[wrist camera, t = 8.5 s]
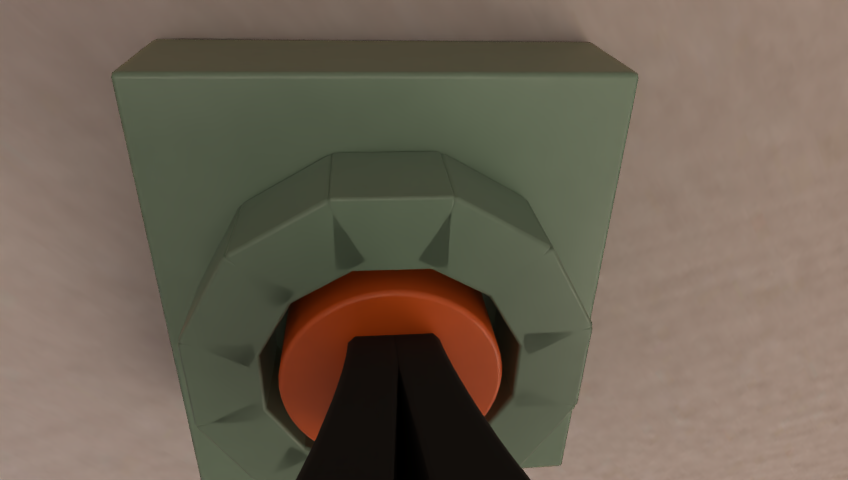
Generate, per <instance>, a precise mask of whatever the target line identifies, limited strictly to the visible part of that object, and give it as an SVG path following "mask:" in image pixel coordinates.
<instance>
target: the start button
mask: <svg viewBox="0 0 848 480" xmlns="http://www.w3.org/2000/svg"><path fill="white" fill-rule="evenodd" d="M426 333H433V334H435V335H436V336H437V337H438V338H439V339H440V341H441V343H442V346H443V348H444V350H445V352H446V354H447V356H448V358H449V360H450V361H451V363H452V365H453V367H454V369H455V371H456V372H457V374H458V376H459V378H460V379H461V381H462V383H463V384H464V386H465V388H466V389H467V391H468V393H469V394H470V396H471V397H472V399H473V400H474V402H475V404H476V405H477V407H478V408H479V410H480V411H481V413H482V414H483V415H484V416H485V415H486V414H487V412H488V411H489V410H490V408H491V406H492V404H493V402H494V401H495V398H496V396H497V393H498V390H499V387H500V382H501V377H502V360H501V353H500V350H499V347H498V344H497V341H496V338H495V334H494V331H493V328H492V325H491V322H490V319H489V315H488V312H487V309H486V306H485V303H484V300H483V296H482V293H481V292H480V291H478V290H475V289H473V288H471V287H469V286H467V285H465V284H463V283H461V282H458V281H456V280H454V279H452V278H450V277H448V276H446V275H444V274H441V273H439V272H437V271H435V270H433V269H407V270H374V271H352V272H350V273H348V274H346V275H344V276H342V277H340V278H338V279H336V280H335V281H333V282H331V283H329V284H327V285H325V286H323V287H321V288H319V289H317V290H315V291H314V292H312V293H310V294H308V295H306V296H304V297H302V298H300V299H298V300H296V301H294V302H293V303H291V304H290V306H289V308H288V314H287V321H286V328H285V334H284V341H283V347H282V354H281V361H280V367H279V374H278V381H279V391H280V395H281V399H282V402H283V404H284V407H285V409H286V411H287V413H288V414H289V416H290V418H291V419H292V421H293V422H294V423H295V424H296V426H297V427H298V428H299V429H300V430H301V431H302V432H303V433H304V434H305V435H307V436H308V437H309V438H310V439H312V440H313V441H315V440H316V437H317V435H318V433H319V430H320V428H321V425H322V423H323V421H324V418H325V416H326V414H327V411H328V409H329V406H330V404H331V402H332V399H333V396H334V393H335V390H336V388H337V385H338V382H339V379H340V376H341V373H342V369H343V366H344V361H345V357H346V353H347V346H348V342H349V341H350V340H351V339H353V338H354V337H355V336H378V335H402V334H426Z"/></svg>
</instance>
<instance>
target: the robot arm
mask: <svg viewBox="0 0 848 480" xmlns="http://www.w3.org/2000/svg"><path fill="white" fill-rule="evenodd" d="M296 480H530V478H529V477H528V476H527V475H526V473H525V472H524V471H523V469H522V468H521V467H520V466H519V464H518V463H517V462H516V460H515V459H514V458H513V457H512V455H511V454H510V453H509V451H508V450H507V448H506V447H505V446H504V444H503V443H502V442H501V440H500V439H499V437H498V436H497V435H496V433H495V432H494V430H493V429H492V427H491V426H490V424H489V423H488V421H487V420H486V418H485V417H484V415H483V414H482V413H481V411H480V410H479V408H478V407H477V405H476V404H475V402H474V400H473V399H472V397H471V396H470V394H469V393H468V391H467V389H466V388H465V386H464V384H463V383H462V381H461V379H460V378H459V376H458V374H457V372H456V371H455V369H454V367H453V365H452V363H451V361H450V360H449V358H448V356H447V354H446V352H445V350H444V348H443V346H442V343H441V341H440V339H439V338H438V337H437V336H436V335H435V334H433V333H426V334H402V335H378V336H355V337H354V338H353V339H351V340H350V341H349V342H348V346H347V353H346V357H345V361H344V366H343V369H342V373H341V376H340V379H339V382H338V385H337V388H336V390H335V393H334V396H333V399H332V402H331V404H330V406H329V409H328V411H327V414H326V416H325V418H324V421H323V423H322V425H321V428H320V430H319V433H318V435H317V437H316V440H315V442H314V444H313V446H312V448H311V450H310V452H309V454H308V456H307V458H306V460H305V462H304V464H303V466H302V468H301V470H300V472H299V474H298V476H297V478H296Z"/></svg>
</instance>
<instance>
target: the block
mask: <svg viewBox="0 0 848 480" xmlns="http://www.w3.org/2000/svg"><path fill="white" fill-rule="evenodd" d="M111 78H112V82H113V87H114V91H115V96H116V100H117V105H118V109H119V114H120V118H121V123H122V127H123V132H124V136H125V141H126V145H127V150H128V154H129V158H130V163H131V167H132V172H133V176H134V181H135V185H136V190H137V194H138V199H139V203H140V208H141V212H142V217H143V221H144V226H145V230H146V235H147V239H148V244H149V248H150V253H151V257H152V262H153V266H154V271H155V275H156V280H157V284H158V289H159V293H160V298H161V302H162V307H163V311H164V316H165V320H166V325H167V329H168V334H169V338H170V342H171V347H172V351H173V356H174V360H175V365H176V369H177V374H178V378H179V383H180V387H181V392H182V396H183V401H184V405H185V410H186V414H187V419H188V423H189V428H190V432H191V437H192V441H193V446H194V450H195V455H196V459H197V464H198V468H199V473H200V477H201V480H296V478H297V476H298V474H299V472H300V470H301V468H302V466H303V464H304V462H305V460H306V458H307V456H308V454H309V452H310V450H311V448H312V446H313V444H314V442H315V441H313V440H312V439H310V438H309V437H308V436H307V435H305V434H304V433H303V432H302V431H301V430H300V429H299V428H298V427H297V426H296V424H295V423H294V422H293V421H292V419H291V418H290V416H289V414H288V413H287V411H286V409H285V407H284V404H283V402H282V399H281V395H280V391H279V381H278V374H279V367H280V361H281V354H282V347H283V341H284V334H285V328H286V321H287V314H288V308H289V306H290V304H291V303H293V302H294V301H296V300H298V299H300V298H302V297H304V296H306V295H308V294H310V293H312V292H314V291H315V290H317V289H319V288H321V287H323V286H325V285H327V284H329V283H331V282H333V281H335V280H336V279H338V278H340V277H342V276H344V275H346V274H348V273H350V272H352V271H374V270H407V269H433V270H435V271H437V272H439V273H441V274H444V275H446V276H448V277H450V278H452V279H454V280H456V281H458V282H461V283H463V284H465V285H467V286H469V287H471V288H473V289H475V290H478V291H480V292H481V293H482V296H483V300H484V303H485V306H486V309H487V312H488V315H489V319H490V322H491V325H492V328H493V331H494V334H495V338H496V341H497V344H498V347H499V350H500V353H501V360H502V377H501V382H500V387H499V390H498V393H497V396H496V398H495V401H494V402H493V404H492V406H491V408H490V410H489V411H488V412H487V414H486V415H485V416H484V417H485V418H486V420H487V421H488V423H489V424H490V426H491V427H492V429H493V430H494V432H495V433H496V435H497V436H498V437H499V439H500V440H501V442H502V443H503V444H504V446H505V447H506V448H507V450H508V451H509V453H510V454H511V455H512V457H513V458H514V459H515V460H516V462H517V463H518V464H519V466H520V467H521V468H533V467H549V466H559V465H561V463H562V458H563V453H564V448H565V443H566V438H567V433H568V428H569V423H570V418H571V413H572V410H573V409H574V407H575V405H576V404H577V401H578V396H579V391H580V386H581V381H582V376H583V371H584V367H585V362H586V357H587V352H588V347H589V342H590V337H591V332H592V322H591V320H590V318H591V313H592V308H593V303H594V298H595V293H596V288H597V283H598V278H599V273H600V268H601V263H602V258H603V253H604V248H605V243H606V238H607V233H608V228H609V223H610V218H611V213H612V208H613V203H614V198H615V193H616V188H617V183H618V178H619V173H620V168H621V163H622V158H623V153H624V148H625V143H626V138H627V133H628V128H629V123H630V118H631V113H632V108H633V103H634V98H635V93H636V88H637V83H638V74H637V73H636V72H635V71H633V70H632V69H630V68H629V67H627V66H626V65H624V64H623V63H621V62H620V61H618V60H617V59H615V58H614V57H612V56H611V55H609V54H608V53H606V52H605V51H603V50H601V49H600V48H598V47H597V46H595V45H594V44H592V43H590V42H492V41H343V40H195V39H156V40H154V41H152V42H151V43H149V44H148V45H147V46H146V47H144V48H143V49H142V50H140V51H139V52H138V53H137V54H135V55H134V56H133V57H132V58H130V59H129V60H128V61H126V62H125V63H124V64H123V65H121V66H120V67H119V68H117V69H116V70H115V71H114V72H112V77H111Z"/></svg>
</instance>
